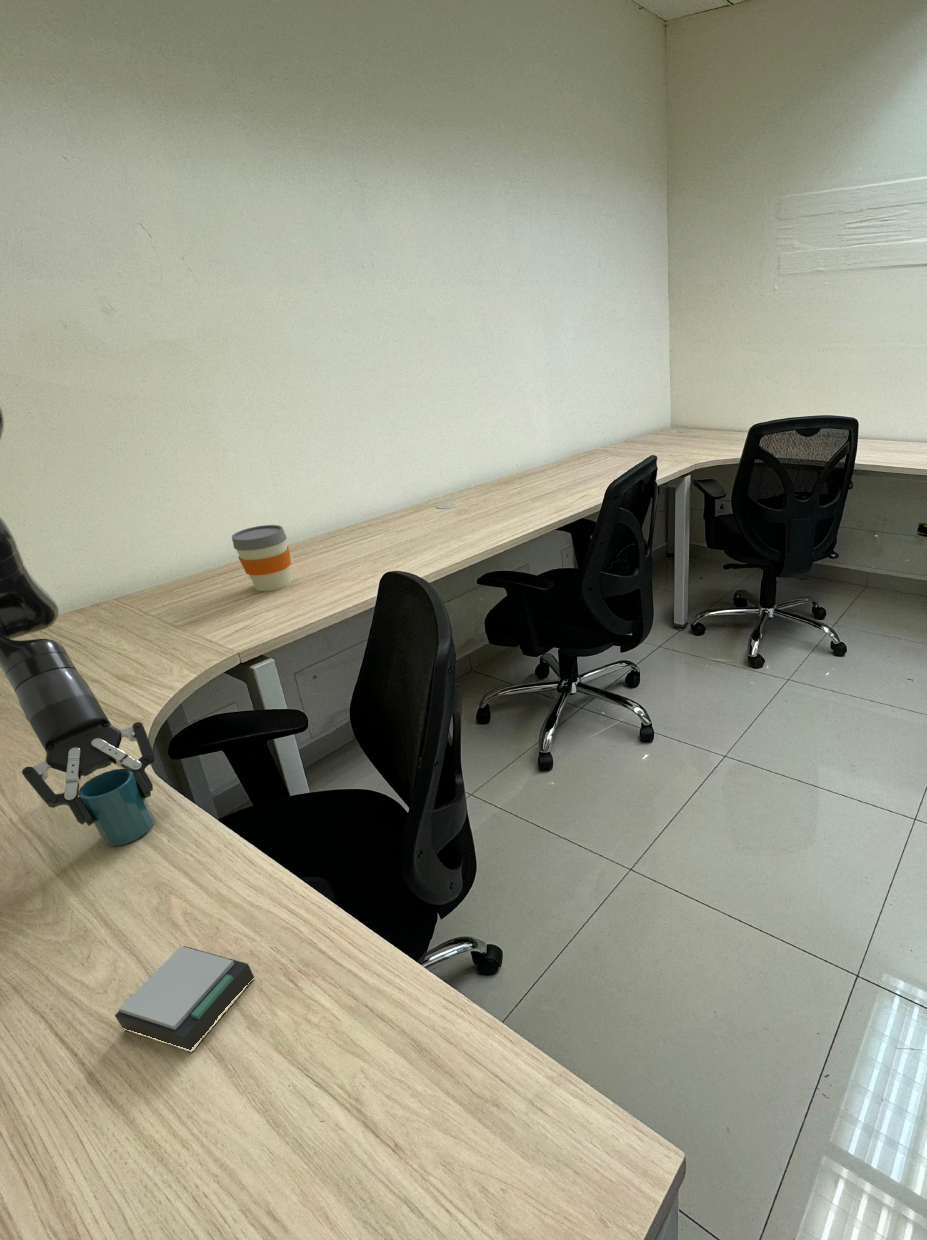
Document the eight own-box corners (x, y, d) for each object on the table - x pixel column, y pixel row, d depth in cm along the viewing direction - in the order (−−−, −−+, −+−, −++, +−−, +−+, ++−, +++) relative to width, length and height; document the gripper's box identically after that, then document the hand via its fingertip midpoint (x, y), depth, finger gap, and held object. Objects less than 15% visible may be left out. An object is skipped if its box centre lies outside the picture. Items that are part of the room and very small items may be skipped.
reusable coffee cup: (237, 592, 171) (218, 538, 165) (274, 574, 182) (258, 523, 176) (274, 596, 168) (256, 541, 161) (309, 577, 178) (294, 525, 172)
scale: (123, 1030, 66) (111, 1011, 64) (191, 960, 73) (181, 941, 71) (192, 1053, 63) (180, 1034, 62) (255, 978, 70) (246, 959, 69)
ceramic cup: (93, 841, 90) (67, 794, 86) (133, 811, 95) (110, 766, 91) (125, 849, 88) (100, 801, 84) (164, 818, 93) (142, 772, 90)
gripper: (-11, 724, 83) (51, 834, 81) (121, 676, 93) (178, 773, 91) (1, 742, 88) (59, 846, 86) (124, 695, 98) (178, 788, 96)
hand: (120, 808), depth 88 cm, fingers closed on ceramic cup, 6 cm apart
